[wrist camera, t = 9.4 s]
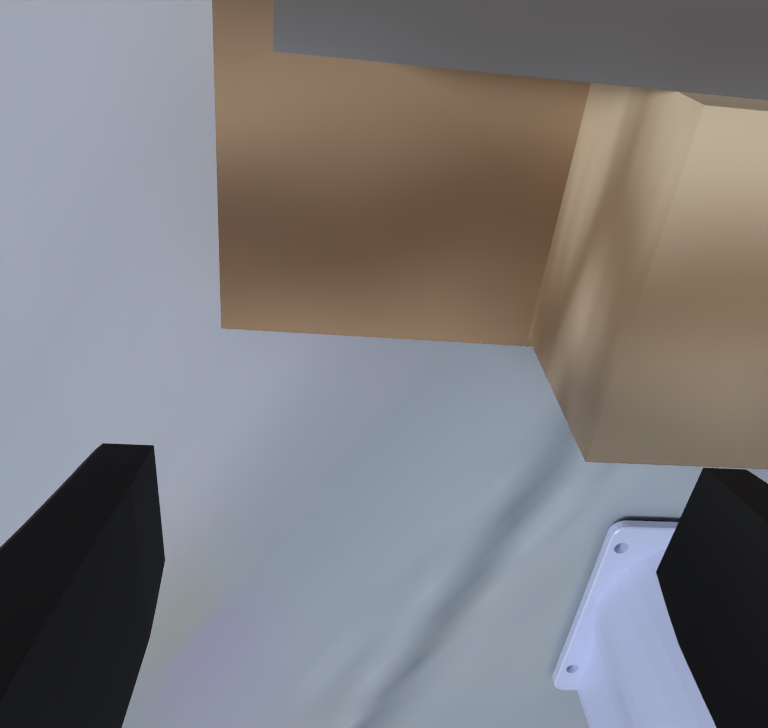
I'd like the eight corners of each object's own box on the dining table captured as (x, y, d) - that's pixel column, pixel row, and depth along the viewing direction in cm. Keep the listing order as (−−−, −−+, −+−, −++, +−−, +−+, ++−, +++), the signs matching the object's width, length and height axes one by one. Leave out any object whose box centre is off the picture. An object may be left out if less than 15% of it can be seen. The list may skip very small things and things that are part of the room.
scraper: (891, 359, 19) (1046, 480, 15) (280, 322, 18) (263, 448, 13) (1101, -2, 15) (1410, 31, 10) (291, -100, 13) (269, -109, 9)
